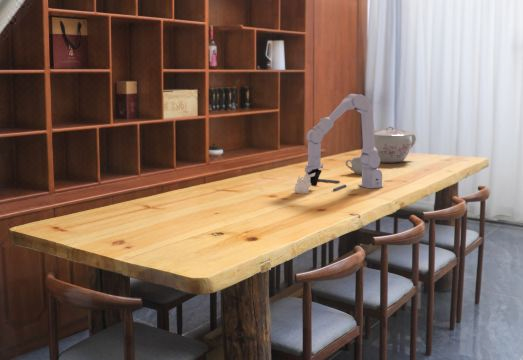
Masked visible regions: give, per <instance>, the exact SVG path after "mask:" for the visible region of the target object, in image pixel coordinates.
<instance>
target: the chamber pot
mask: <svg viewBox="0 0 523 360" xmlns="http://www.w3.org/2000/svg"><path fill="white" fill-rule="evenodd" d="M410 137H411V140H410ZM374 140H375V148H376V149H377V151H378V156H379V157H380V164H381V163H382V164H398V163H401V162H404V161H405V159H407V158H408V156H409V154H410V151H411V149H412V148H413V147H414V145H415V144H416V141H417V140H416V135H415V134H414V133H413V132H411V131H407V130H401V129H394V127H393V126H391V125H390V126H387V127H386V128H385V129H377V130H376V129H374Z"/></svg>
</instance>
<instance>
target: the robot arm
mask: <svg viewBox="0 0 523 360" xmlns="http://www.w3.org/2000/svg"><path fill="white" fill-rule="evenodd" d="M350 110H356V112H358V113H360V115H361V117H360V118H361V129H362V130H361V131H362V146H363V147H362V149H360V150H361V155H360V156H359V157H360V162H361V163H362V175H361V183H359V184H357V186H358V187H363V188H365V189H378V188H384V185H383V172H382V171H381V169H379V168H378V167H379V166H380V164H381V162H380V157H379V156H378V151H377V149H376V148H375V140H374V131H375V127H374V126H375V125H374V123H375V122H374V109H373V107H372V105H371V104H370V102H369V100H368V97H366V96H365V95H363V94H361V93H360V94H356V93H349V94H348V95H347V96H346V97H345V98H342V101H341V102H340V103H339V104H338V105H337V106H336V108H335V109H334V110H333V111H332V112H331V114H329V115H328V116H327V117H326V116H325V117H321V118H320V119H319V122H318V123H316V125H314V126H313V127H312V129H310V130H308V131H307V133H306V135H305V138H306V140H307V164H305V167H304V172H305V173H306V172H307V174H308V175H310V174H312V173H315V176H314V177H310V182H311V186H310V187H317V185H318V183H319V181H318V179H320V176H321V173H322V172H323V171H322V170H321V169H324V163H321V159H322V158H321V157H322V156H321V150H322V149H321V145H322V144H321V142H322V141H323V139H324V136H325V135H326V134H327V133H328V132H329V131H330V130H331V129H332V128H333V127H334V123H335V121H337V120H338V119H339V118H340V117H341V116H342V115H343V114H344V113H346V111H350Z"/></svg>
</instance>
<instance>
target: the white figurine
mask: <svg viewBox="0 0 523 360" xmlns="http://www.w3.org/2000/svg"><path fill="white" fill-rule="evenodd" d="M314 176H315V173H312V174H310V175H308V174H307V172H305V174H304V175H303V176H301V175H298V178H297V180H296V182H297V183H296V184H295V186H294V190H293V191H294V193H295V194H300V193H302V194H303V195H304V193H305V194H309V193H310V188H311V187H312V186H311V182H310V177H314ZM300 195H301V194H300Z"/></svg>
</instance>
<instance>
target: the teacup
mask: <svg viewBox="0 0 523 360" xmlns="http://www.w3.org/2000/svg"><path fill="white" fill-rule="evenodd" d="M360 157H361V156H359V157H357V156H356V157H352V158H351V159H347V160H346V161H345V165H346V167H347V168H348V169H350V170H351V171H352V172H353V173H354V174H356V175H361V176H362V163H361V162H360ZM349 162H350V164H351V166H350V165H349V164H348V163H349Z"/></svg>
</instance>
